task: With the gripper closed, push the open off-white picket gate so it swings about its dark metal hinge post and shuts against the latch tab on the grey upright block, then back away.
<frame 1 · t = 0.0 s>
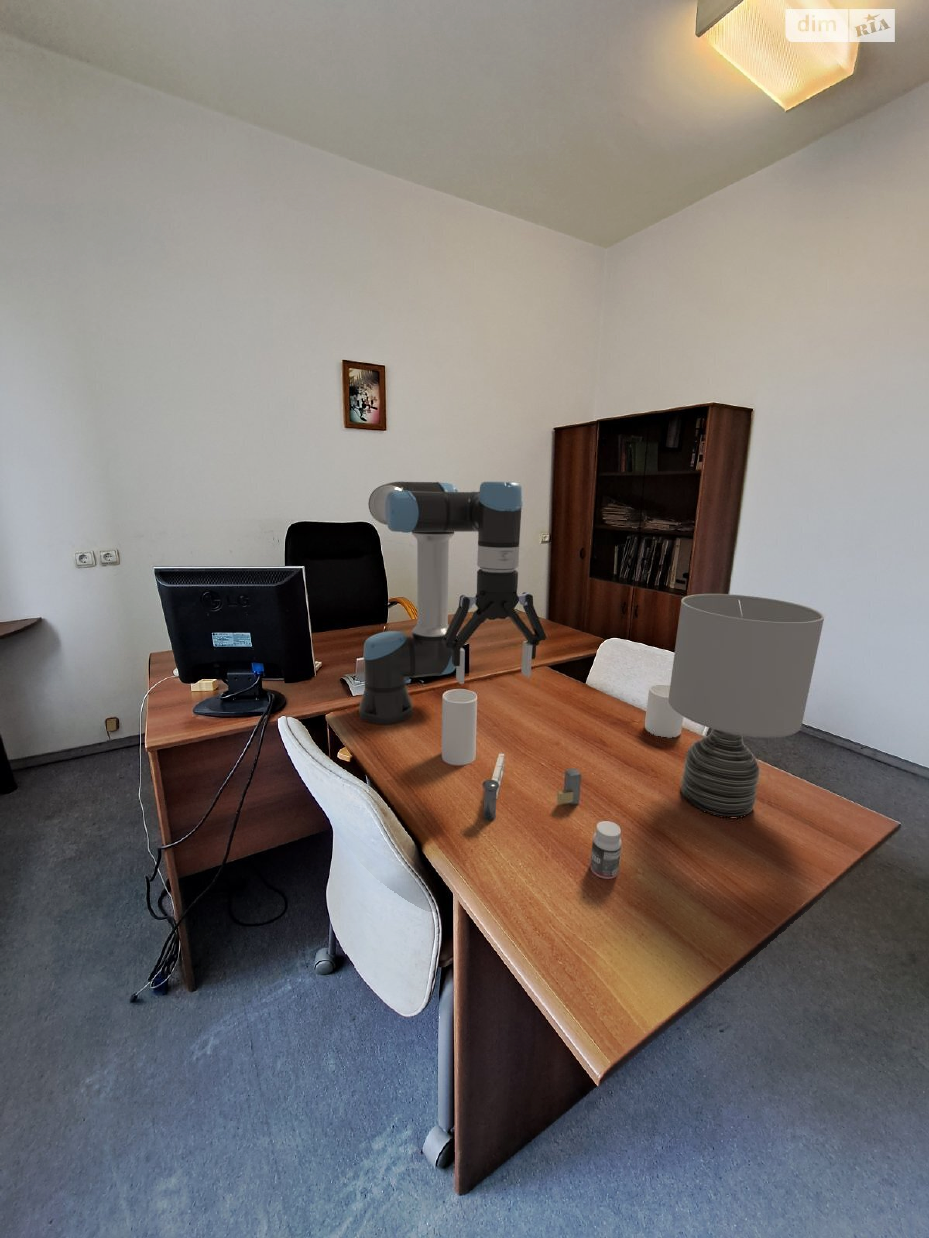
hand: (493, 678, 97), 28 cm above the table, fingers open, 13 cm apart
lamp: (716, 799, 108), on the table
mug: (659, 729, 139), on the table
hinge post: (489, 816, 100), on the table
pill bottle: (603, 870, 87), on the table
grey upright block: (570, 801, 106), on the table
gate: (496, 780, 108), point 3 cm above the table, hinge at 60.0°
cup: (458, 757, 123), on the table
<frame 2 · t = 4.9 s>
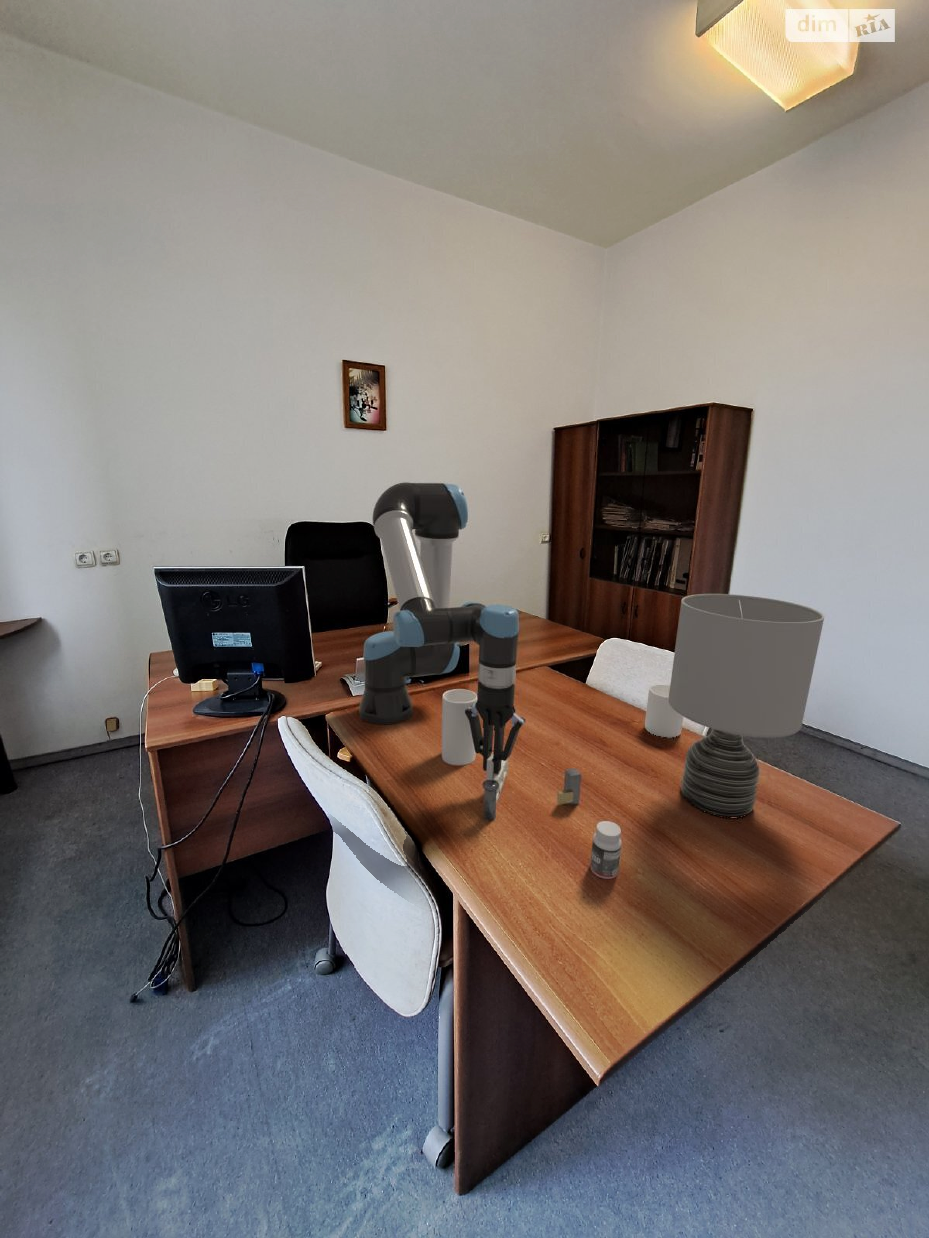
hand: (491, 784, 108), 2 cm above the table, fingers closed
gate: (499, 780, 108), point 3 cm above the table, hinge at 56.8°, touching gripper
everything else where it was.
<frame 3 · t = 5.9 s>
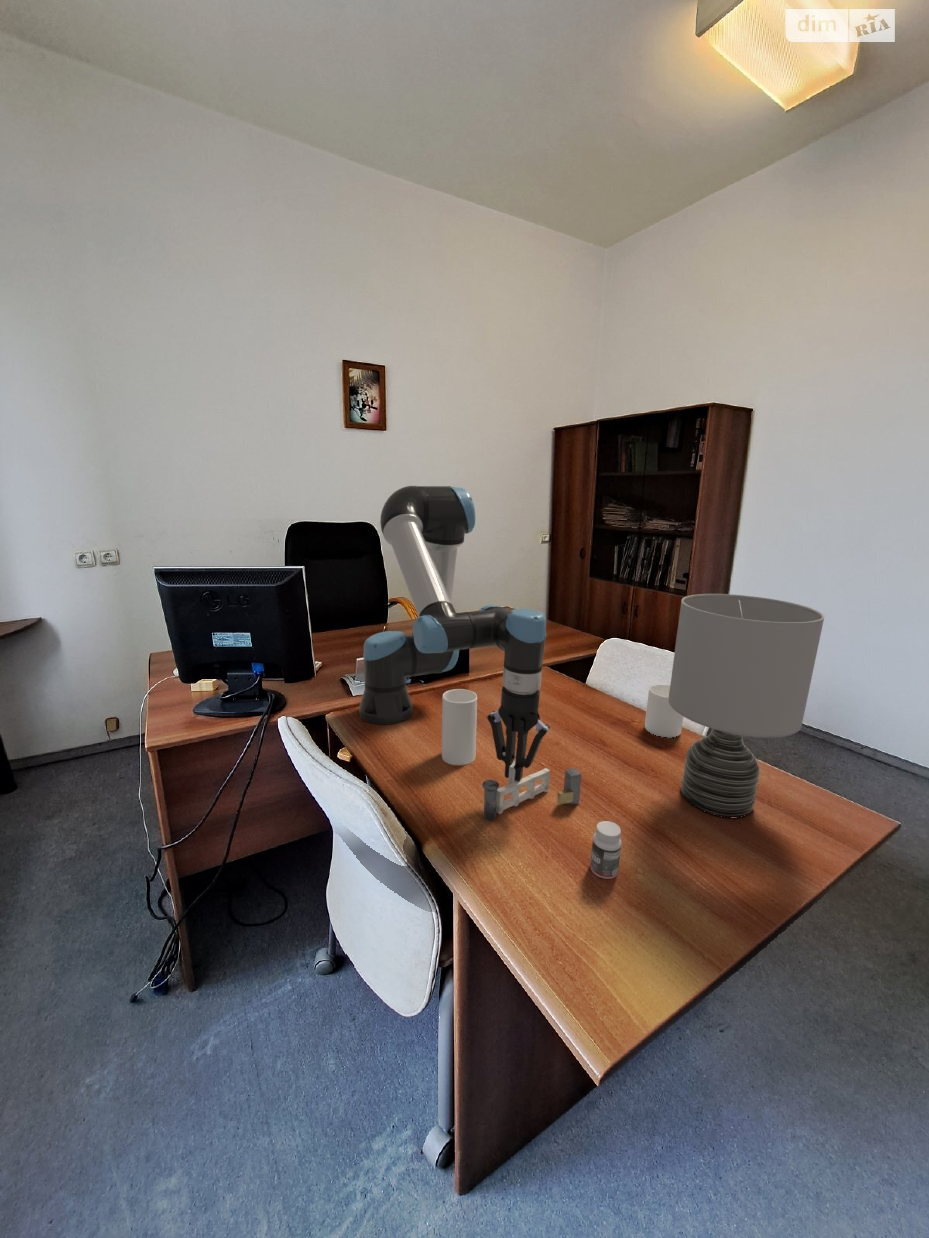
hand: (512, 791, 105), 2 cm above the table, fingers closed
gate: (523, 790, 105), point 3 cm above the table, hinge at 18.4°, touching gripper
everything else where it was.
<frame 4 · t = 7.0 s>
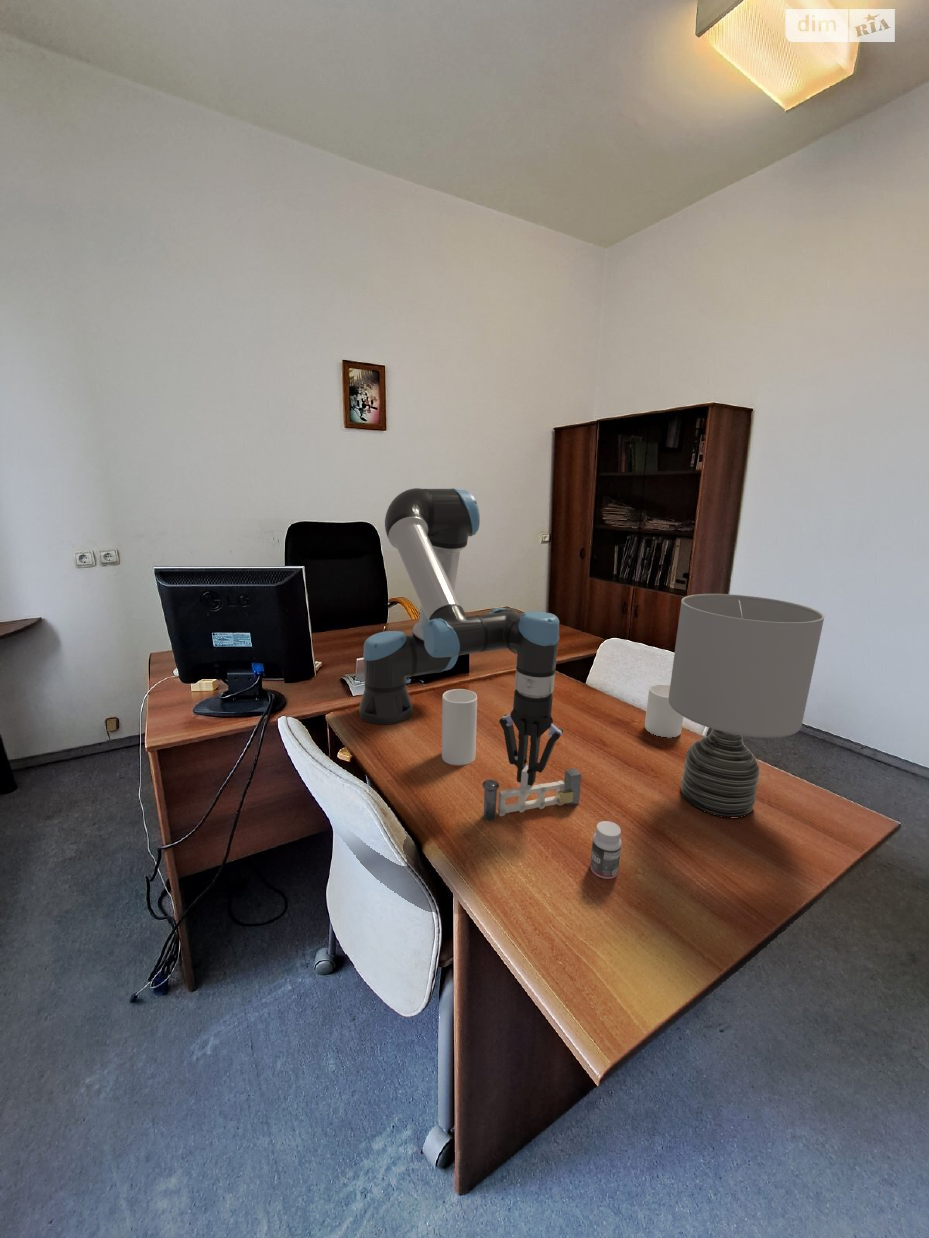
hand: (524, 796, 104), 2 cm above the table, fingers closed
gate: (531, 797, 102), point 3 cm above the table, hinge at -0.7°, touching gripper
everything else where it was.
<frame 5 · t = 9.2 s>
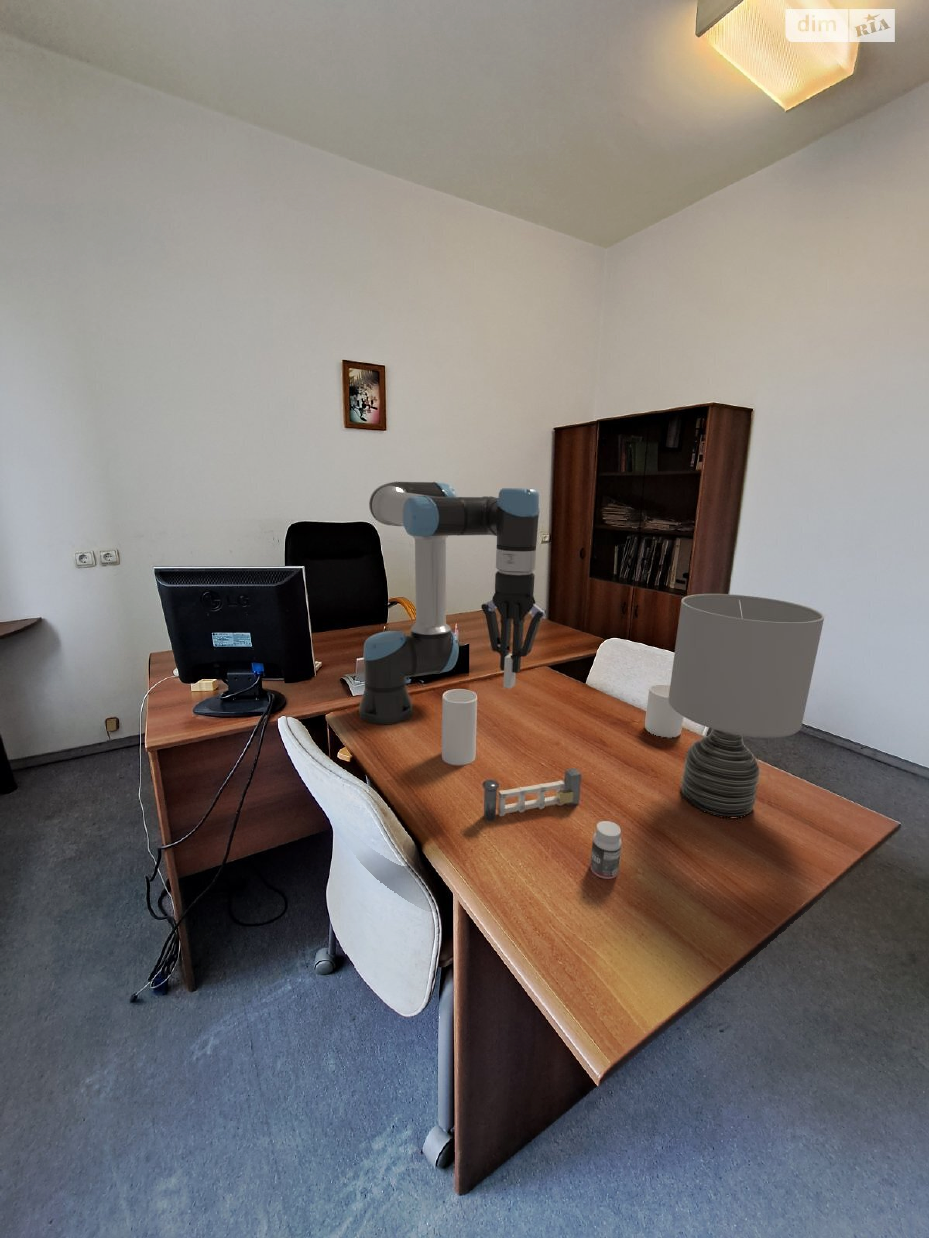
hand: (509, 685, 102), 25 cm above the table, fingers closed
gate: (531, 797, 102), point 3 cm above the table, hinge at -0.6°
everything else where it was.
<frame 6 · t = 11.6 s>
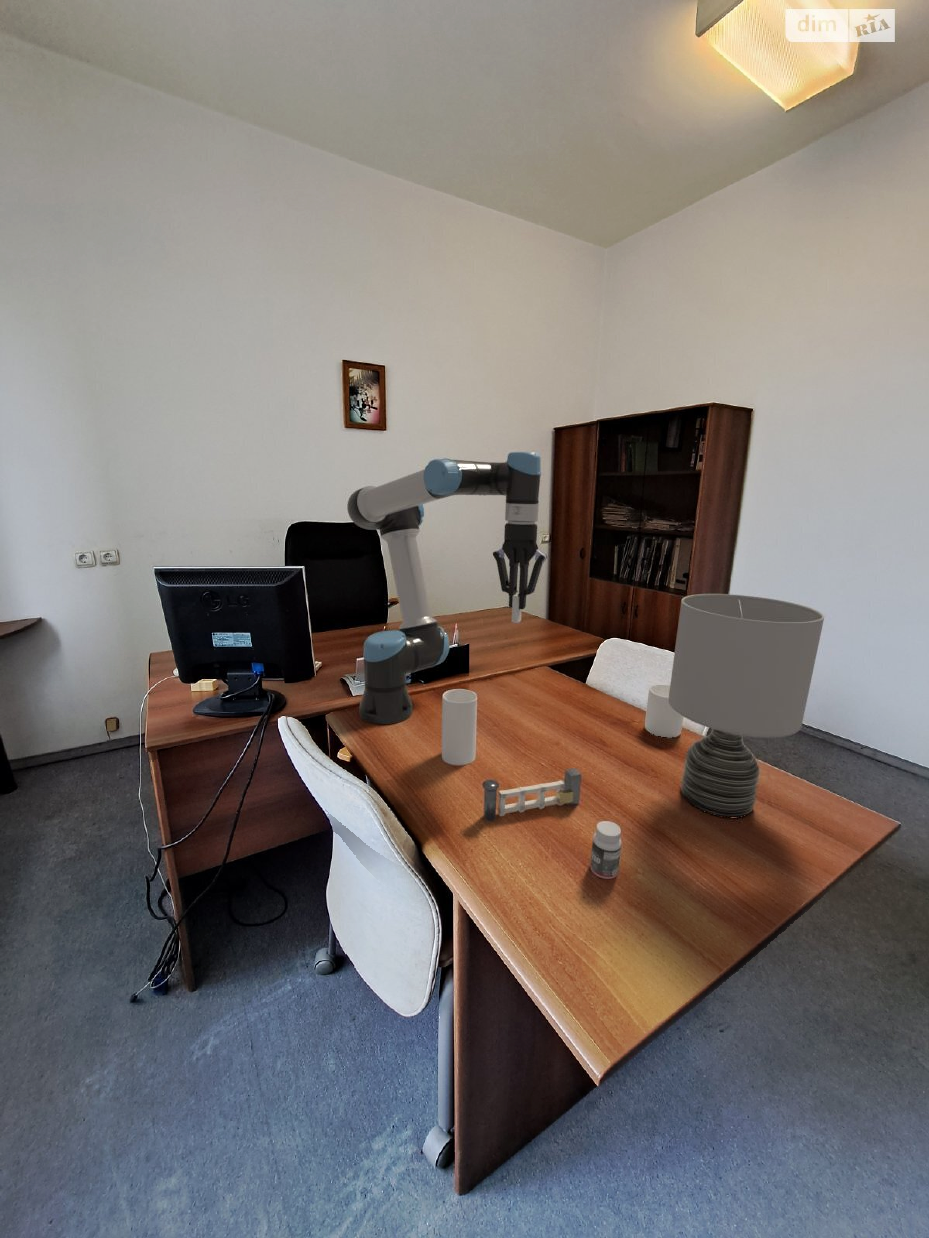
hand: (516, 621, 122), 32 cm above the table, fingers closed
nothing on the table moved.
at the end: gate at -1° (first picture: +60°) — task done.
